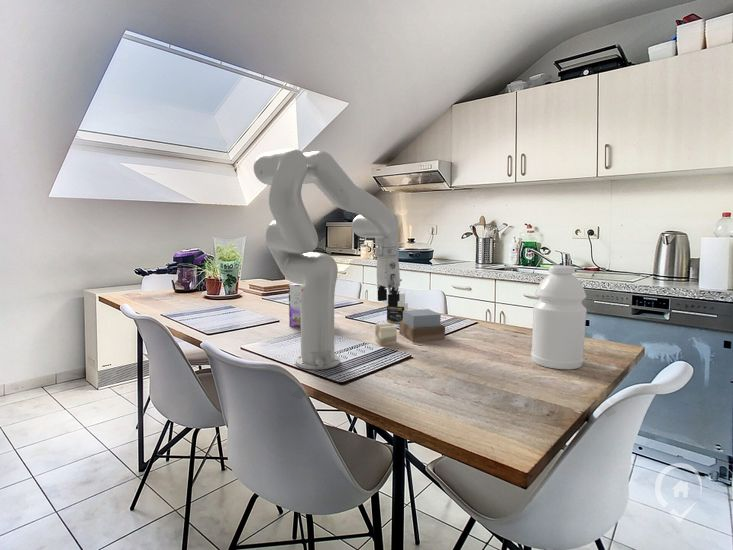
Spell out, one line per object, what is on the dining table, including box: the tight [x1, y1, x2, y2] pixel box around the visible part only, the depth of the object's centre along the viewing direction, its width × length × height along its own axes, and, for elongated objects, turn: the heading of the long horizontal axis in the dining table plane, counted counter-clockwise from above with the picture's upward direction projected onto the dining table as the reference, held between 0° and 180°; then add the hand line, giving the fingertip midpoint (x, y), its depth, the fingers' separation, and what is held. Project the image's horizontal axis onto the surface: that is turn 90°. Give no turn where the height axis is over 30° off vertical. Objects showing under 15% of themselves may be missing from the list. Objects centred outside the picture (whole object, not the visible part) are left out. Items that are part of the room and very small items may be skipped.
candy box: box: [288, 282, 305, 328], centre depth 171 cm, size 14×6×16 cm, turn 84°
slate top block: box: [403, 308, 442, 328], centre depth 156 cm, size 10×10×4 cm
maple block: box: [374, 322, 398, 347], centre depth 148 cm, size 6×6×6 cm
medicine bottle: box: [386, 290, 409, 324], centre depth 180 cm, size 7×7×12 cm
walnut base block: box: [398, 321, 446, 343], centre depth 156 cm, size 12×12×5 cm
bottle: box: [530, 264, 588, 370], centre depth 127 cm, size 14×14×28 cm
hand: (387, 303), depth 147 cm, fingers open, 9 cm apart
